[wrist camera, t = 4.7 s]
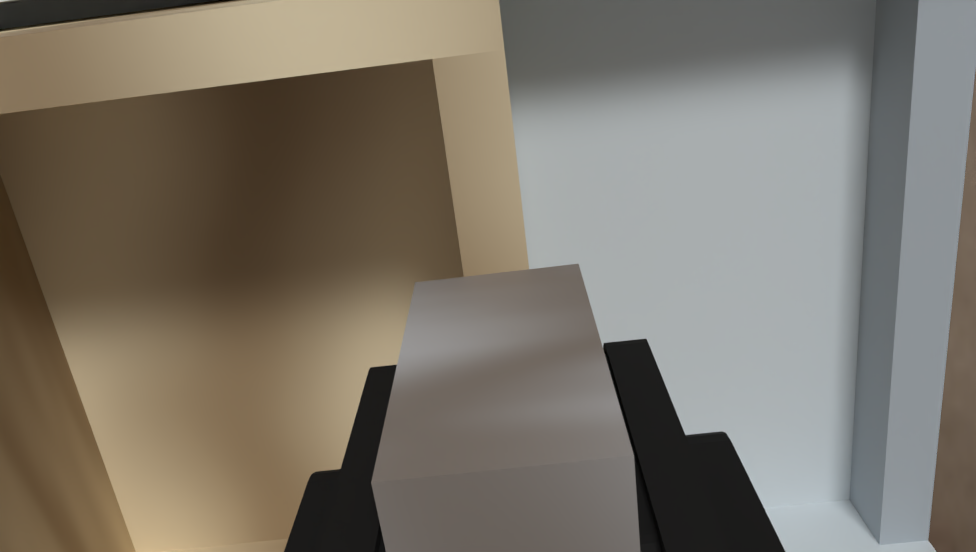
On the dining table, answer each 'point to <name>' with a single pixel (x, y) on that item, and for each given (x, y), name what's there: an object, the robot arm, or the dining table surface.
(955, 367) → the dining table surface
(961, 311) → the dining table surface
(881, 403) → the bay
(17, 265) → the drawer
